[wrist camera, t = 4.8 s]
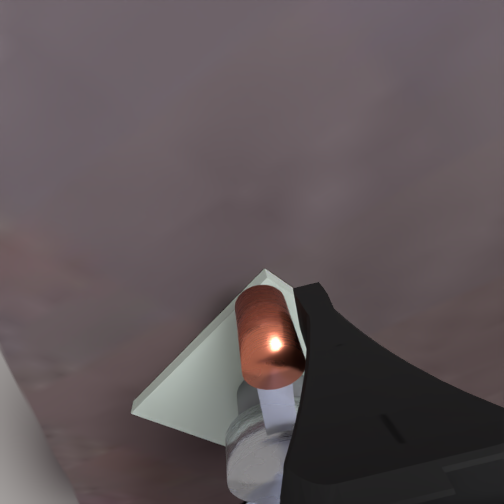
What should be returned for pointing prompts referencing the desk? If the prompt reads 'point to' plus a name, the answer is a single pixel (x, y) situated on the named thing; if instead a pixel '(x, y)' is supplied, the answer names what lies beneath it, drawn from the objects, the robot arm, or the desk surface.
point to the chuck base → (210, 377)
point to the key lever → (264, 395)
